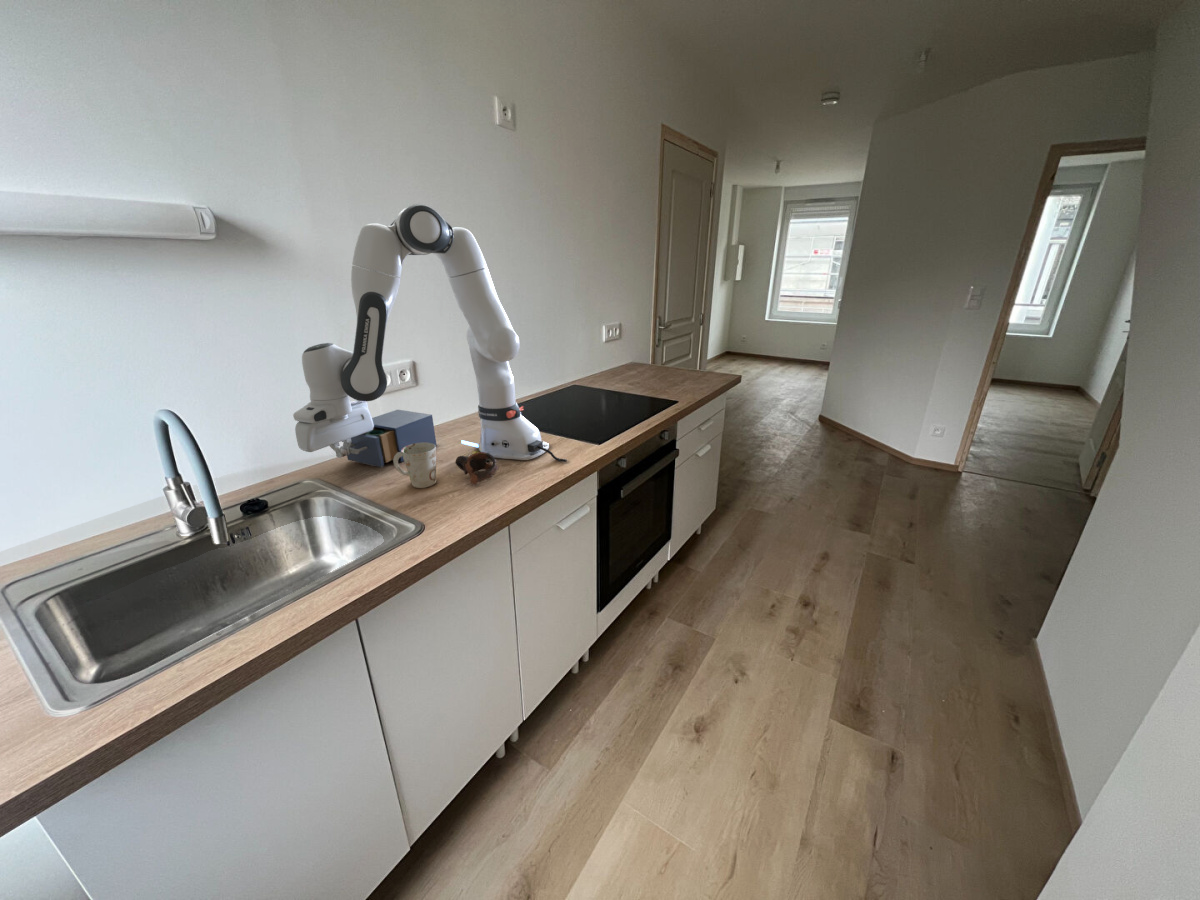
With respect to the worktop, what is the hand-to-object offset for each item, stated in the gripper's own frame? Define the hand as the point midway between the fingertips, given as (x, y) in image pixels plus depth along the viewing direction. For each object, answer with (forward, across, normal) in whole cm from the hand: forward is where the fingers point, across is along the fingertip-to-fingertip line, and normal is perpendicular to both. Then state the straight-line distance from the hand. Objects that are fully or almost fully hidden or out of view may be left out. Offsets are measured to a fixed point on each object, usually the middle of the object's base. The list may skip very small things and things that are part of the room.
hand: (343, 455), depth 123 cm
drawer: (+5, -10, 0) cm, 11 cm away
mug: (+6, -4, +22) cm, 23 cm away
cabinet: (+6, -20, 0) cm, 20 cm away
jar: (+4, -12, 0) cm, 12 cm away
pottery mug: (+6, -12, +35) cm, 38 cm away
